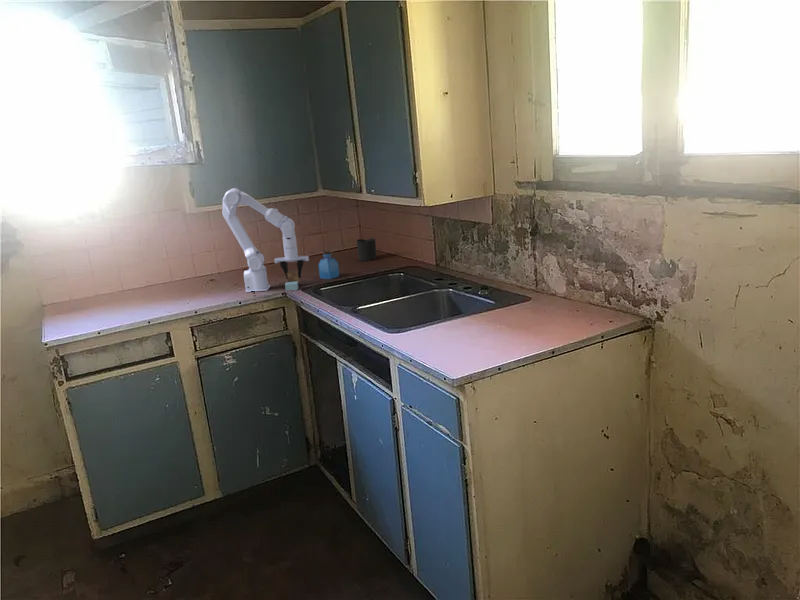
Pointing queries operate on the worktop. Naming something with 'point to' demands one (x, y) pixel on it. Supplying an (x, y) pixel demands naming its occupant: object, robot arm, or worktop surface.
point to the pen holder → (366, 249)
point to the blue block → (291, 285)
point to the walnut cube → (293, 276)
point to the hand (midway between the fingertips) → (293, 278)
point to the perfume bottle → (328, 266)
